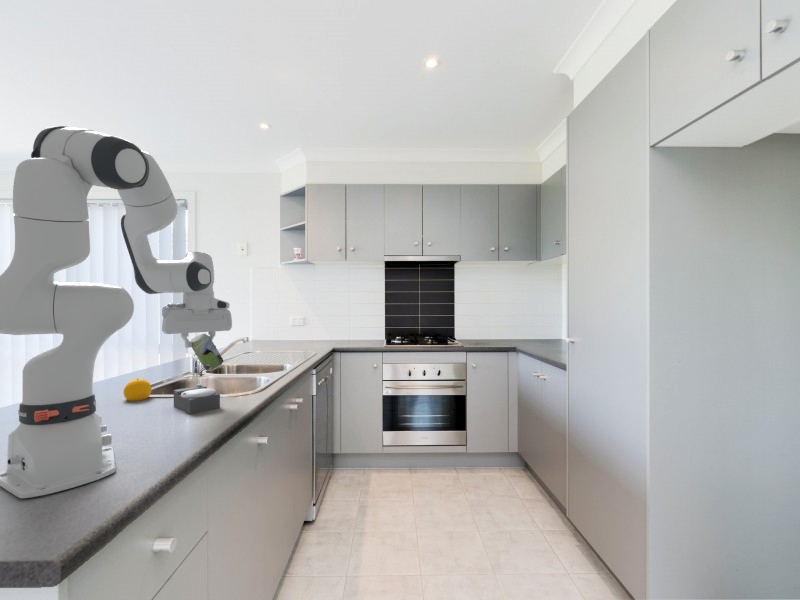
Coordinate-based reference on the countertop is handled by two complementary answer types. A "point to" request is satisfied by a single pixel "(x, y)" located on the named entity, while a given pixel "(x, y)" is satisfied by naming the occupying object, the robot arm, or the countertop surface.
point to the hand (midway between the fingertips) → (198, 346)
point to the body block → (196, 399)
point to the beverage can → (206, 352)
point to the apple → (137, 390)
